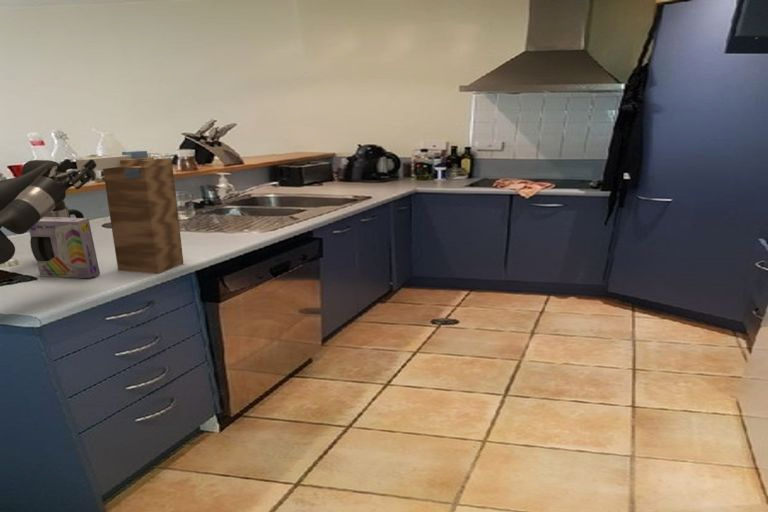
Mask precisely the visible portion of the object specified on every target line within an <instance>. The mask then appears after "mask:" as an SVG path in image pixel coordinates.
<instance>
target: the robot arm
mask: <svg viewBox="0 0 768 512" xmlns="http://www.w3.org/2000/svg"><path fill="white" fill-rule="evenodd" d="M72 166H73V163H72V162H71V160H70V159H68V158H65V159H64V160H62V161H61V162H57V161H54V160H48V159H45V160H43V159H40V160H39V159H31V160H28V161H26V162H25V163H24V164H23V165H22V168H21V175H19V176H16V177H11V178H6V179H2V180H0V265H3V264H5V263H7V262H9V261H11V260H12V258H13V257H14V255H15V253H16V246H15V244H14V243H13V241H12V240H11V239H10V238H9V237H8V236H7V235H6V234H5V233H4V232H3V231H2V230H1V228H3V229H6V230H7V231H9V232H11V233H13V234H16V235H23V234H26V233H27V232H29V229H31V228H32V227H33V226H34V225H35V224H36V223H37V222H38V221H39V220H40V219H42V218H43V217H54V218H56V217H66V218H67V213H66V207H65V206H66V204H65V199H66V198H67V197H66V196H67V194H66V193H67V192H66V191H67V190H69V189H71V188H72V187H74V188H75V190H80V189H81V188H82V187H83V186H84V185H86V184H87V183H88V182H89V181H90V180H91V179H93V178H94V175H93V174H92V171H94V170H93V169H94V168H95V167H96V166H97V165H96V163H95V162H94V160H89V161H88V162H87V163H86V164H84V165H83V166H82V167H81V168H79V169H77V168H76V169H74V168H73V169H71V170H69V169H70V168H71V167H72ZM73 175H74V176H73Z"/></svg>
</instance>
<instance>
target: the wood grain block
mask: <svg viewBox="0 0 768 512" xmlns="http://www.w3.org/2000/svg"><path fill="white" fill-rule="evenodd" d="M120 164H121V167H115V168H106V169H102V171H103V179H104V185H105V191H106V192H105V193H106V198H107V205H108V212H109V218H110V226H111V231H112V238H113V240H112V241H113V244H114V252H115V259H116V265H117V270H118V271H125V272H136V273H144V274H145V273H146V274H156V275H158V274H160V273H161V274H162V273H163V272H165V271H168V270H171V269H173V268H176V267H178V266H180V265H183V263H184V255H183V248H182V246H183V245H182V237H181V230H180V229H181V228H180V220H179V211H178V203H177V194H176V185H175V176H174V167H173V158H172V157H164V158H163V157H162V158H154V157H149V158H139V159H129V160H120Z"/></svg>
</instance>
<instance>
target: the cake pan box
mask: <svg viewBox="0 0 768 512" xmlns="http://www.w3.org/2000/svg"><path fill="white" fill-rule="evenodd" d="M28 232H29V236H30V242H29V243H30V249H31V252H32V254H33V255H32V256H33V257H34V259H35V260H36V264H37V269H38V272H39V277H40V276H41V277H56V278H57V277H59V278H76V279H77V278H79V279H82V278H83V279H84V278H85V279H86V278H87V279H90V278H93V277H96V276H99V275H101V271H100V267H99V262H98V258H97V252H96V248H95V242H94V239H93V234H92V233H93V232H92V228H91V224H90V220H89V218H88V217H87V218H85V217H84V218H76V217H70V218H66V217H56V218H54V217H43V218H42V219H40V220H39V221H38V222H37V223H36V224H35V225H34V226H33V227H32V228H31V229H29V230H28Z"/></svg>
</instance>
